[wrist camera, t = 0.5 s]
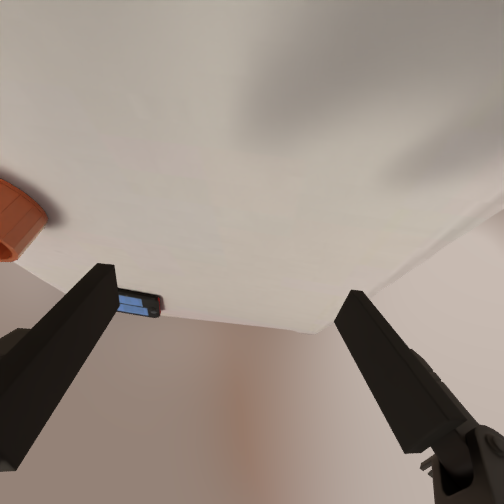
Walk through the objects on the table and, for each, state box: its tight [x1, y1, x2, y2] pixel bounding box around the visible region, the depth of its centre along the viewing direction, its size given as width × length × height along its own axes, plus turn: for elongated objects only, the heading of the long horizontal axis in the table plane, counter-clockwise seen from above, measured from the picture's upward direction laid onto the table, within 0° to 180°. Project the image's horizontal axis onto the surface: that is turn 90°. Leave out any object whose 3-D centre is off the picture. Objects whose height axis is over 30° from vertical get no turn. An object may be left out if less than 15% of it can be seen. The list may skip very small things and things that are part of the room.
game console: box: [116, 289, 161, 318], centre depth 53 cm, size 14×13×2 cm
